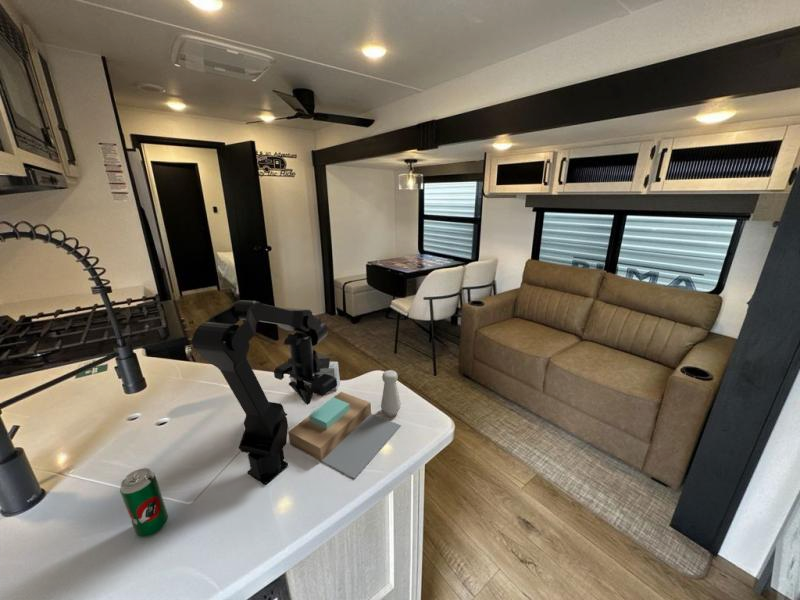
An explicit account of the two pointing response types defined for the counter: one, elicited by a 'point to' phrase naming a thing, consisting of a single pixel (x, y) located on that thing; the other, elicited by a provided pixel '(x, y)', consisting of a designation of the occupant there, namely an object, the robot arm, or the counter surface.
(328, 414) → the teal rectangular block
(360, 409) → the deck
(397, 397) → the salt shaker
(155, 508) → the soda can
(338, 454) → the mat
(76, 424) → the counter surface
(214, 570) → the counter surface
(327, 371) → the medicine box
